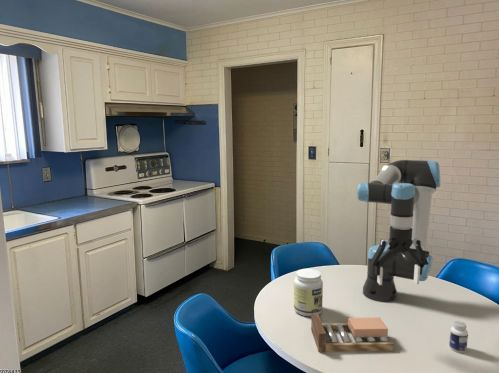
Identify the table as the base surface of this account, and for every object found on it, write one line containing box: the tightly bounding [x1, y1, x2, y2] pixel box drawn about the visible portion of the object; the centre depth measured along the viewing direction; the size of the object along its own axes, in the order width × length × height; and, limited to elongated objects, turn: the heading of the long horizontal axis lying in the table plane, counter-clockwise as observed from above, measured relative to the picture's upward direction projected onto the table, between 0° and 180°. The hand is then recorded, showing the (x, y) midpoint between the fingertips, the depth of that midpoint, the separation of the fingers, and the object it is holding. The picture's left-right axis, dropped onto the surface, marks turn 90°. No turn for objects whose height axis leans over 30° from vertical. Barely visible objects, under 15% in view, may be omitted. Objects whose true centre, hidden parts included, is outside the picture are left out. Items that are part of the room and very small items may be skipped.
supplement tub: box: [293, 268, 324, 317], centre depth 162 cm, size 12×12×17 cm
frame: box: [310, 313, 395, 353], centre depth 140 cm, size 26×14×7 cm, turn 91°
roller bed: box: [324, 322, 389, 343], centre depth 140 cm, size 11×20×2 cm, turn 91°
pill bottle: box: [448, 320, 469, 354], centre depth 133 cm, size 5×5×10 cm
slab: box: [347, 317, 389, 338], centre depth 140 cm, size 12×8×3 cm, turn 91°
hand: (397, 283), depth 138 cm, fingers open, 13 cm apart
